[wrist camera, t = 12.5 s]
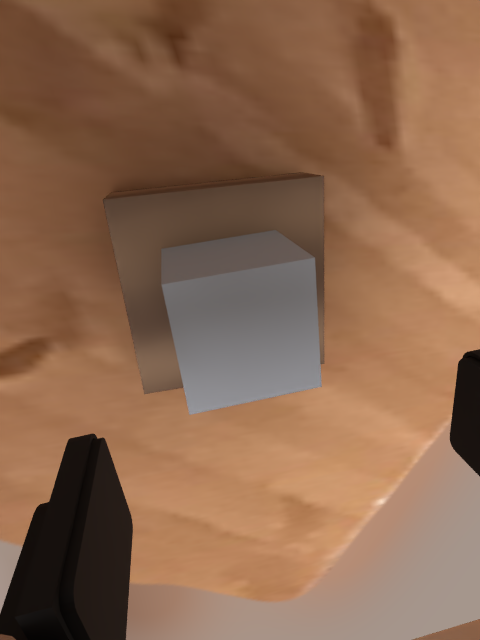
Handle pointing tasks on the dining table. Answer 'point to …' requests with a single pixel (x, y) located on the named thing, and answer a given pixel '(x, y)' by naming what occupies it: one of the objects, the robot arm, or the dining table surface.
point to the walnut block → (194, 227)
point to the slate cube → (242, 318)
